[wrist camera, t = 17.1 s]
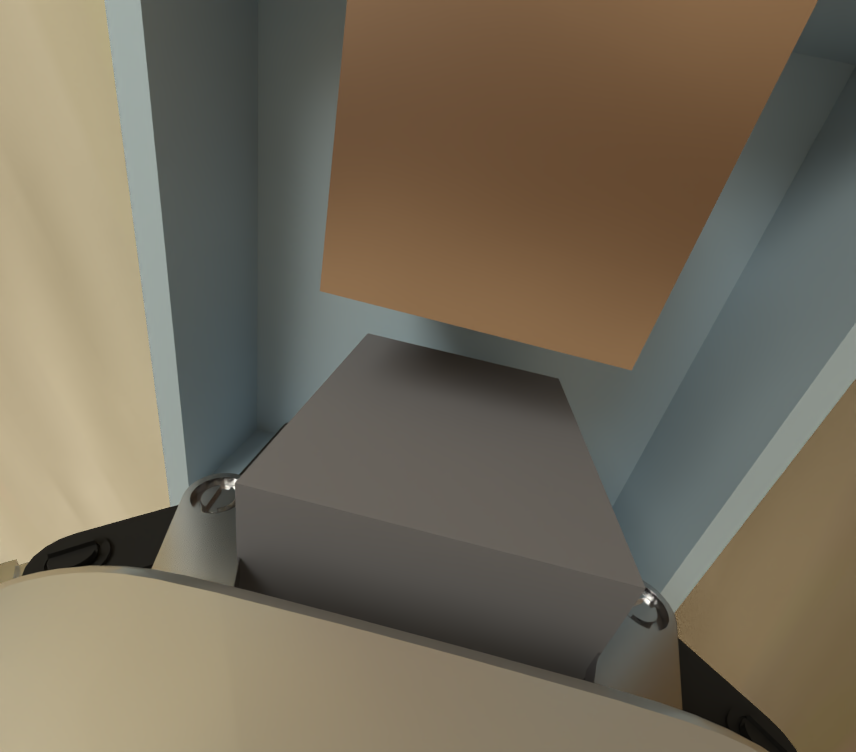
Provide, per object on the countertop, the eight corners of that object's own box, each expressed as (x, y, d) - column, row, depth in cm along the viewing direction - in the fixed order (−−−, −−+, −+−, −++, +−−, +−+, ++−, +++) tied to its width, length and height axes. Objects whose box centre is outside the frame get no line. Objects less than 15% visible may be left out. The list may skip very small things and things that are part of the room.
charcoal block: (367, 333, 12) (234, 482, 6) (558, 378, 12) (644, 587, 5) (347, 481, 14) (241, 697, 8) (503, 520, 14) (518, 775, 8)
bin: (246, -82, 11) (65, -296, 6) (880, 44, 10) (1214, -88, 6) (250, 429, 19) (170, 507, 14) (612, 520, 18) (657, 634, 13)
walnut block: (433, 34, 11) (364, -190, 5) (640, 82, 11) (859, -83, 4) (396, 248, 14) (319, 291, 7) (562, 290, 13) (631, 370, 7)
